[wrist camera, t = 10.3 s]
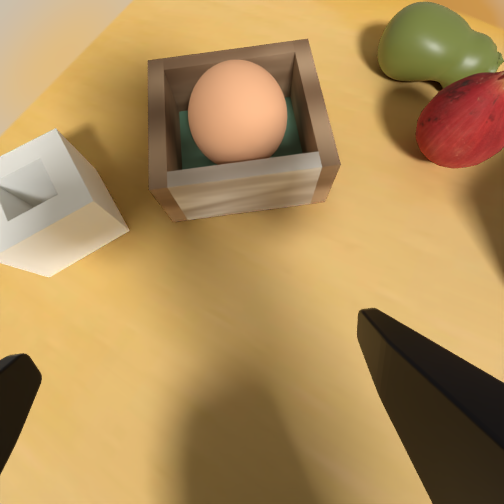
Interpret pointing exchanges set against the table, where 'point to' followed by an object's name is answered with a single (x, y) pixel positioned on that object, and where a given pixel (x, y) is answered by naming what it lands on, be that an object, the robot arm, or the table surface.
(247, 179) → the wooden crate
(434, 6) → the pear
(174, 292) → the table surface
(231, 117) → the ball
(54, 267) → the white square holder
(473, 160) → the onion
